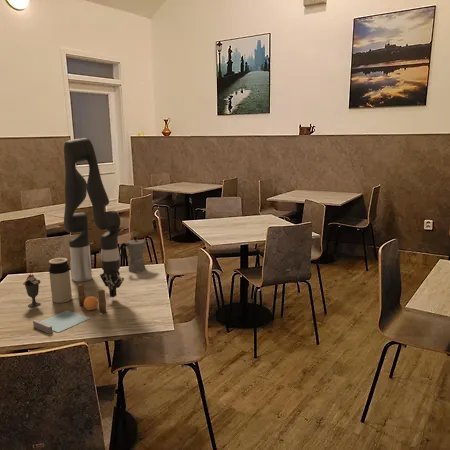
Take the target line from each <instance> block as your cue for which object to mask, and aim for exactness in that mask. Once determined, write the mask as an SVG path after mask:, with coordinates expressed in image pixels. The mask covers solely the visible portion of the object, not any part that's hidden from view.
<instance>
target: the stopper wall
mask: <svg viewBox="0 0 450 450" xmlns="http://www.w3.org/2000/svg"><path fill="white" fill-rule="evenodd" d="M40 321H41V320H37V319H34V320H32V324H33V325H32V327H33V328H35V329H37V330H40V331H42V332H45V333H46V334H49V335H50V334H52V333H53V331H52V326H50V325H48V324H45V323H43V322H40Z"/></svg>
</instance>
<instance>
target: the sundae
mask: <svg viewBox="0 0 450 450" xmlns="http://www.w3.org/2000/svg"><path fill="white" fill-rule="evenodd" d="M29 271H30V273H29V274H28V276H27V278H26V279H25V281H24V282H23V284H22V286H25V287H24V288H25V290H26V293H27V296H28V297H30V298H31V303H29V304H27V307H28V308H37V307H39V306H41V304H42V303H41V302H37V301H36V297H38V295H39V292H40V291H39V289H40V288H39V286H40V284H41V280H40V279H37V278H36V277H35V275H34V274H33V270H32V269H30V270H29Z"/></svg>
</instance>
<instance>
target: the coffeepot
mask: <svg viewBox="0 0 450 450" xmlns="http://www.w3.org/2000/svg"><path fill="white" fill-rule="evenodd" d="M146 242H148V241H147V240H145V239H137V236H133V239H132V240H128V241H126V242H123V243H121V244H120V246H119V250H120V252H121V255H122V257H123V259H128V258H129V259H128V271H129V272H131V273H139V272H144V271H146V265H145V264H146V263H145V260H144V257H143V255H144V251H145V250H144V249H145V245H146ZM124 247H127V251H128V255H129V256H127V255H126V252H125V249H124Z"/></svg>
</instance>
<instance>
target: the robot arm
mask: <svg viewBox="0 0 450 450" xmlns="http://www.w3.org/2000/svg"><path fill="white" fill-rule="evenodd" d="M63 156H64V158H63V159H64V168H65V170H64V171H65V178H64V179H65V180H64V181H65V182H64V200H65V201H64V205H65V206H64V215H63V228H64V230H65V232H66V233H69V234H74V233H79V234H78V235H76V236H75V237H73V238H70V239H69V243H68V245H69V255H70V260H69V268H70V279H72V281H73V282H77V283H80V282H81V283H83V282H87V281H90V280H92V279H93V273H92V259H91V248H90V235H89V218H88V214H87V213H86V212H83V211H81V212H75V211H76V210H77V209H78V207H80V205H81V204H82V203H83V202H84V201H85V199H86V198H87V195H88V197H89V200H90V203H91V205H92V214H93V221H94V222H93V223H94V225H95V226H96V227H97V229H99V230H101V231H103V230H104V231H105V230H106V231H105V232H104V233H103V234H102V235H100V238H99V239H100V240H99V241H100V258H101V259H100V262H101V263H100V264H101V270H102V271H103V273H102V274H99V276H100V278H101V280H102V282H103V284H104V286H105V287H107V288H108V291H109V297H110V298H115V297H117V288H120V287H121V285H122V284H123V282H124V281H125V278H124V277H121V276H120V274H121V273H120V268H121V260H120V258H121V257H120V251H119V250H120V248H119V241H118V240H119V239H118V237H119V234H120V233H119V232H120V227H121V217H120V216H121V215H120V214H119V213H118V212H117V210H116V211H115V210H108V211H105V207H107V206H108V205H109V203H110V198H109V197H108V194H107V191H106V189H105V187H104V184H103V180H102V176H101V173H100V168H99V164H98V160H97V155H96V152H95V147H94V145H93V143H92V141H91V140H90V139H89V138H87V137H81V138H75V139H69V140H66V141H65V142H64V145H63ZM84 161H87V164H88V167H89V168H88V170H89V171H88V177H87V181H86V179H85V177H84V176H83V175H82V174H81V173H80V172H79V171H78V170H77V167H76V164H77V163H79V162H84Z"/></svg>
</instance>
